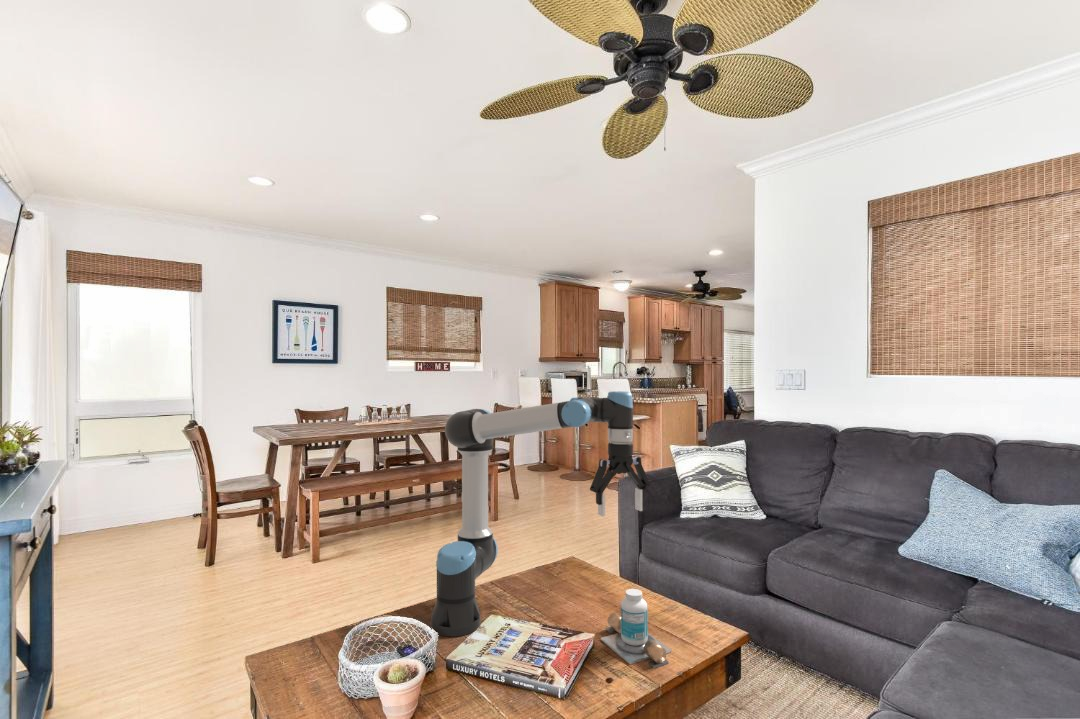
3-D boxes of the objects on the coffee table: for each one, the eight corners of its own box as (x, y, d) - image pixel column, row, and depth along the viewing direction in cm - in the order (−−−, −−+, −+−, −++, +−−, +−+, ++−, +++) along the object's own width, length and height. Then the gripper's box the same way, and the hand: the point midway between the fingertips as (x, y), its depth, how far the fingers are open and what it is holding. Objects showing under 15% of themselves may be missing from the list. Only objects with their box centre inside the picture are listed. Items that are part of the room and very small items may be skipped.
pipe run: (593, 633, 154) (593, 617, 154) (631, 623, 160) (631, 608, 160) (639, 672, 134) (639, 654, 134) (681, 659, 140) (681, 642, 140)
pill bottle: (630, 630, 152) (630, 584, 153) (652, 639, 147) (652, 591, 148) (615, 640, 147) (615, 592, 147) (638, 650, 142) (638, 600, 142)
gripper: (591, 446, 149) (591, 520, 149) (661, 441, 160) (661, 510, 160) (578, 443, 156) (578, 514, 155) (645, 438, 167) (646, 505, 166)
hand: (620, 512), depth 158 cm, fingers open, 13 cm apart
